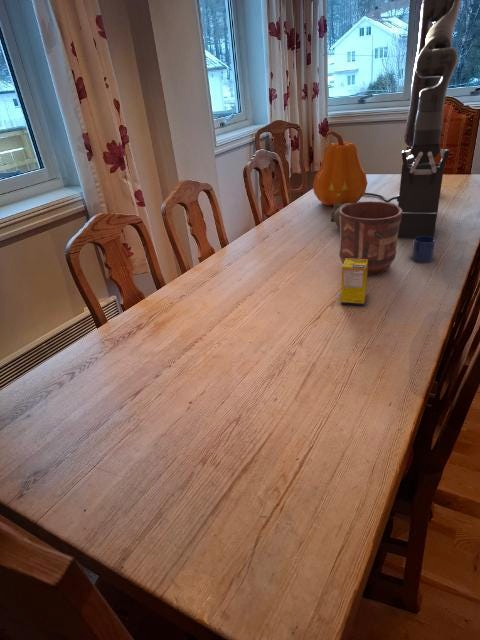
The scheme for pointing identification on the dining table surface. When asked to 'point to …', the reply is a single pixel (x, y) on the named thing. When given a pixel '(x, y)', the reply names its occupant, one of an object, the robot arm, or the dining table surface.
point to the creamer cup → (423, 249)
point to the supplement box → (354, 281)
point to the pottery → (370, 233)
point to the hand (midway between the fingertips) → (421, 184)
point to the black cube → (417, 224)
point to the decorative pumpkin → (340, 174)
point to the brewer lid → (420, 190)
